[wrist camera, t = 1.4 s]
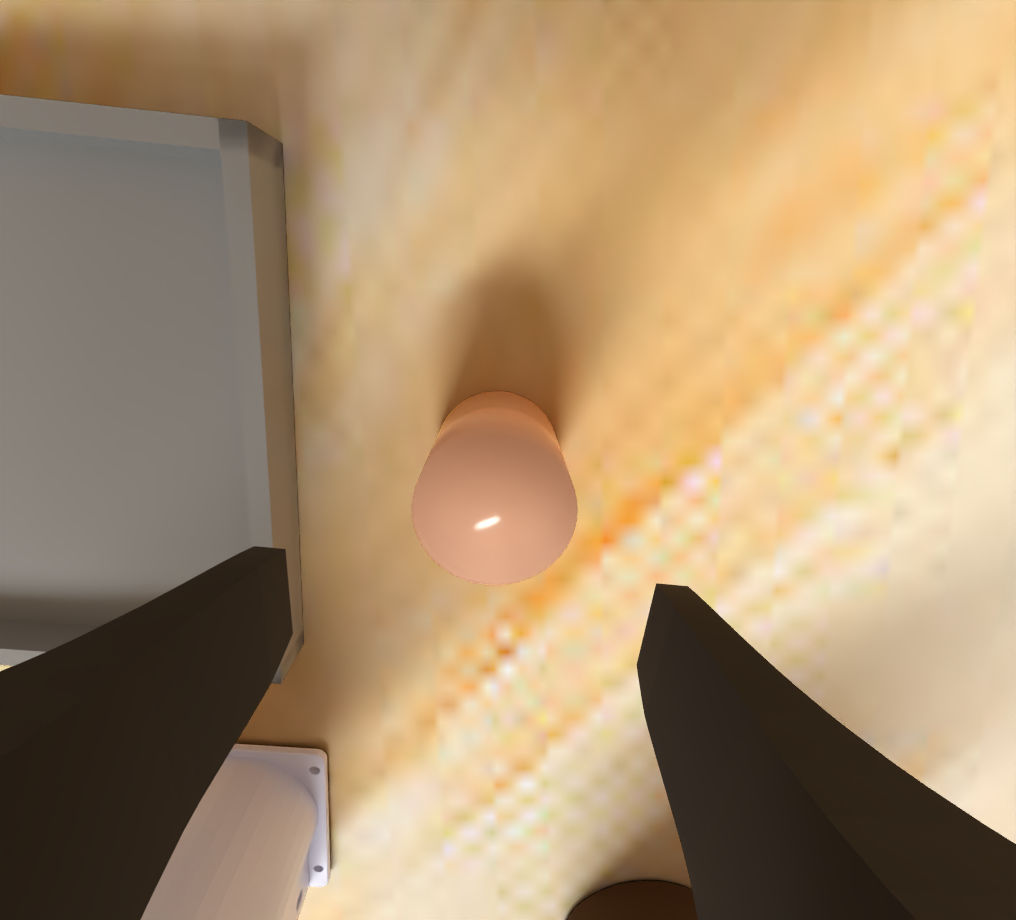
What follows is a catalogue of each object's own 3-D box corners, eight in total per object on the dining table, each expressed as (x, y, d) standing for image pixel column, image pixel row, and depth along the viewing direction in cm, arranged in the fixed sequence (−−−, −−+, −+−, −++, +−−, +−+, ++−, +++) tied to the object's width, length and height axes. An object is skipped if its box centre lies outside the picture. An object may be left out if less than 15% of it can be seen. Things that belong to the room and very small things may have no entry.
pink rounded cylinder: (549, 509, 21) (566, 590, 16) (434, 500, 21) (409, 579, 16) (564, 396, 20) (588, 441, 14) (439, 385, 20) (414, 426, 14)
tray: (303, 643, 23) (281, 683, 21) (-154, 611, 23) (-231, 649, 20) (282, 143, 17) (246, 121, 15) (-358, 75, 16) (-505, 39, 14)
